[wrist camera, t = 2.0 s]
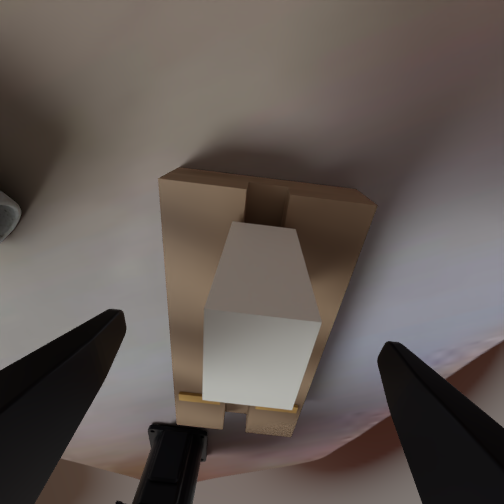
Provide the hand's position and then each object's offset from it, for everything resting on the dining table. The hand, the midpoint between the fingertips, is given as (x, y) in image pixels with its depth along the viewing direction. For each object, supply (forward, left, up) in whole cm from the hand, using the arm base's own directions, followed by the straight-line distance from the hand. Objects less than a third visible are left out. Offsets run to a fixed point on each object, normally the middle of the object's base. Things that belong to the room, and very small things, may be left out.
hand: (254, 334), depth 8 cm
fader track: (-7, 0, -8) cm, 11 cm away
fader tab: (0, 0, -6) cm, 6 cm away
